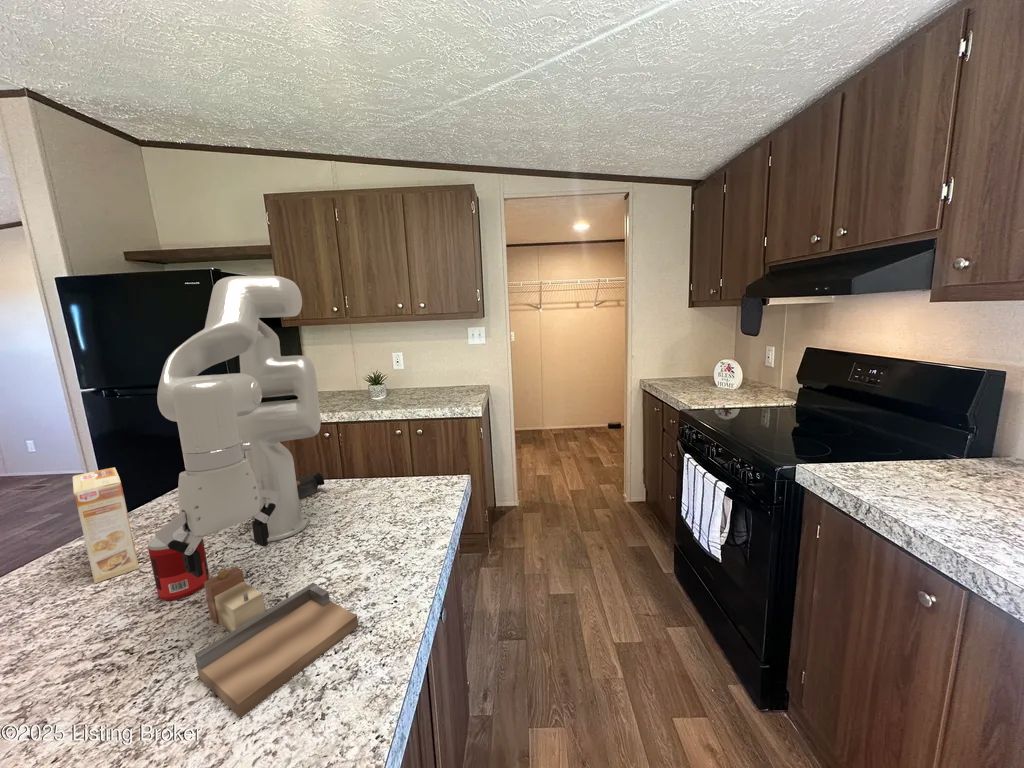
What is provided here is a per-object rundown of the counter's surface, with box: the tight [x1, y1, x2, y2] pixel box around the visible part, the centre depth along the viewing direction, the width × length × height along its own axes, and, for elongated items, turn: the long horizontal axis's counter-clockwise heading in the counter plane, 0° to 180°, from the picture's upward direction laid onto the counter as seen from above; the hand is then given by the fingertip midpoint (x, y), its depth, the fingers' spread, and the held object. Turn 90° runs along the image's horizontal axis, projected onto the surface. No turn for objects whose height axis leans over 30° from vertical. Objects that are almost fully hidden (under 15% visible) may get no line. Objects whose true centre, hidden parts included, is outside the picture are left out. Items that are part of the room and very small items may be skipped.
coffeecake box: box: [72, 467, 140, 584], centre depth 89 cm, size 15×7×20 cm, turn 47°
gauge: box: [204, 566, 266, 633], centre depth 70 cm, size 9×5×8 cm, turn 58°
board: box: [194, 582, 359, 718], centre depth 63 cm, size 12×18×4 cm, turn 148°
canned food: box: [147, 527, 210, 601], centre depth 80 cm, size 8×8×11 cm
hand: (231, 558), depth 68 cm, fingers open, 9 cm apart
